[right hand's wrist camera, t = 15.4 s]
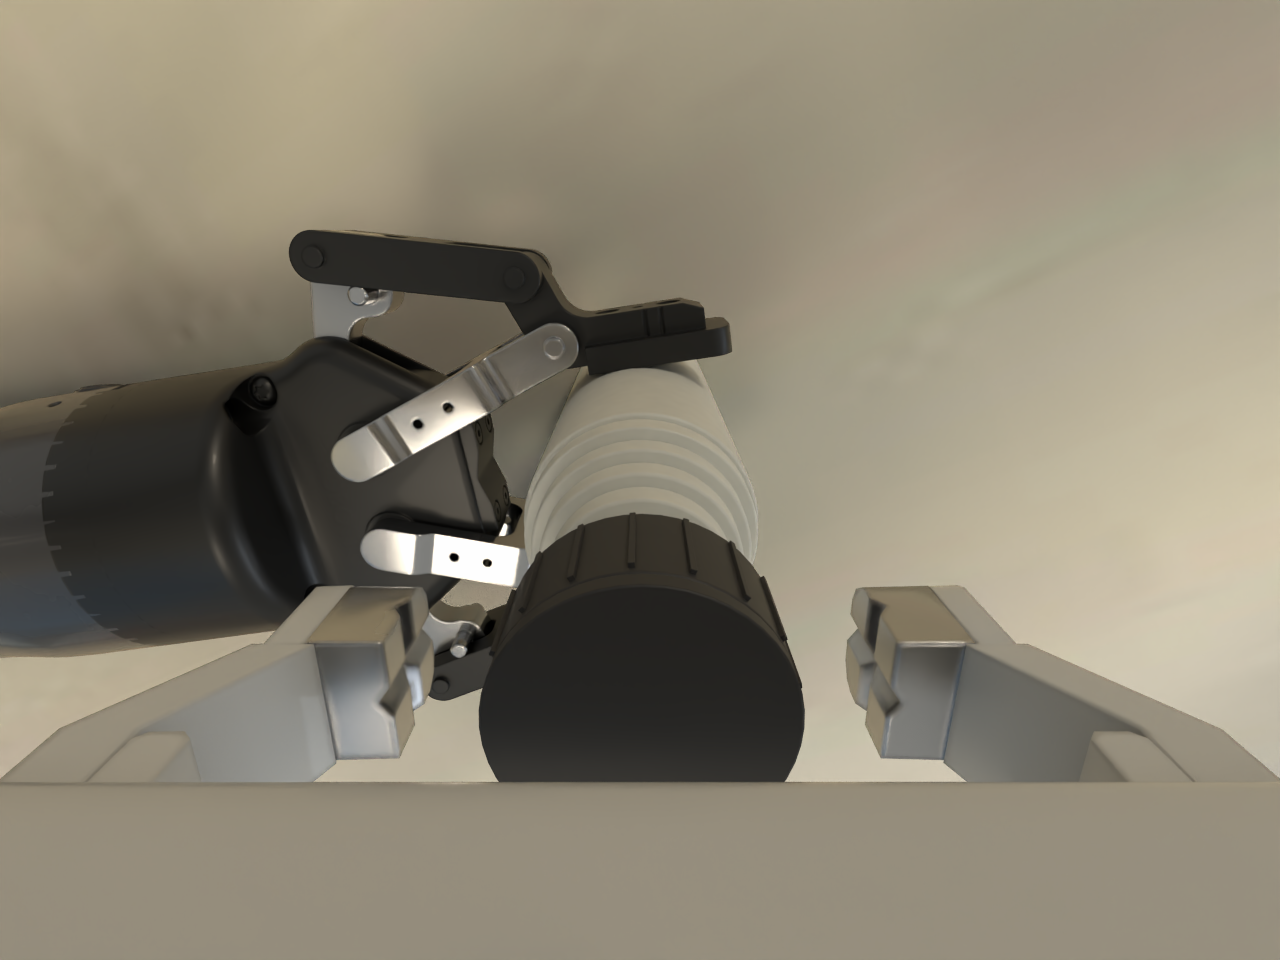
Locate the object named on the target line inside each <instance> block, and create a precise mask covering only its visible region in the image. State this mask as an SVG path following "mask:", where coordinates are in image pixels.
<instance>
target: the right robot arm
mask: <svg viewBox="0 0 1280 960" xmlns="http://www.w3.org/2000/svg"><path fill="white" fill-rule="evenodd" d="M428 616H429V608H428V601H427V595H426V593H425V591H424V590H423V588H422V587H379V586H353V585H345V586H321V587H316V588H315V589H314V590H313V591H312V592H311V593H310V594H309V595H308V596H307V597H306V599H305V600H304V601H303V602H302V603H301V604H300V605H299V606H298V607H297V608H296V609H295V610H294V612H293V613H292V614H291V615H290V616H289V617H288V618H287V619H286V620H285V621H284V622H283V623H282V625H281V626H280V627H279V628H278V629H277V630H276V631H275V632H274V633H273V634H272V635H271V636H270V638H269V639H268V640H267V641H266V642H265V643H264V644H251V645H249V646H247V647H244V648H242V649H240V650H237V651H235V652H233V653H231V654H228V655H226V656H224V657H221V658H219V659H217V660H215V661H212V662H210V663H208V664H206V665H203V666H201V667H199V668H196V669H194V670H192V671H190V672H187V673H185V674H183V675H180V676H178V677H176V678H174V679H171V680H169V681H167V682H164V683H162V684H160V685H158V686H155V687H153V688H151V689H149V690H146V691H144V692H142V693H139V694H137V695H135V696H133V697H130V698H128V699H126V700H123V701H121V702H119V703H117V704H114V705H112V706H110V707H107V708H105V709H103V710H101V711H98V712H96V713H94V714H91V715H89V716H87V717H85V718H82V719H80V720H78V721H76V722H73V723H71V724H69V725H66V726H64V727H62V728H60V729H58V730H57V731H56V732H55V733H54V734H52V735H51V736H50V737H49V738H48V739H47V740H45V741H44V742H43V743H42V744H41V745H39V746H38V747H37V748H36V749H35V750H34V751H32V752H31V753H30V754H29V755H28V756H27V757H25V758H24V759H23V760H22V761H21V762H20V763H18V764H17V765H16V766H15V767H14V768H12V769H11V770H10V771H9V772H8V773H7V774H5V775H4V776H3V777H2V778H1V779H0V960H1280V779H1279V778H1278V777H1277V776H1276V775H1275V774H1274V773H1272V772H1271V771H1270V770H1269V769H1268V768H1267V767H1265V766H1264V765H1263V764H1262V763H1261V762H1260V761H1258V760H1257V759H1256V758H1255V757H1254V756H1253V755H1251V754H1250V753H1249V752H1248V751H1247V750H1246V749H1244V748H1243V747H1242V746H1241V745H1240V744H1239V743H1237V742H1236V741H1235V740H1234V739H1233V738H1232V737H1230V736H1229V735H1228V734H1227V733H1226V732H1225V731H1223V730H1222V729H1220V728H1218V727H1215V726H1213V725H1211V724H1209V723H1206V722H1204V721H1202V720H1199V719H1197V718H1195V717H1193V716H1190V715H1188V714H1186V713H1183V712H1181V711H1179V710H1177V709H1174V708H1172V707H1170V706H1168V705H1165V704H1163V703H1161V702H1158V701H1156V700H1154V699H1152V698H1149V697H1147V696H1145V695H1143V694H1140V693H1138V692H1136V691H1133V690H1131V689H1129V688H1127V687H1124V686H1122V685H1120V684H1118V683H1115V682H1113V681H1111V680H1108V679H1106V678H1104V677H1102V676H1099V675H1097V674H1095V673H1093V672H1090V671H1088V670H1086V669H1083V668H1081V667H1079V666H1077V665H1074V664H1072V663H1070V662H1068V661H1065V660H1063V659H1061V658H1058V657H1056V656H1054V655H1052V654H1049V653H1047V652H1045V651H1043V650H1040V649H1038V648H1036V647H1033V646H1031V645H1029V644H1016V643H1015V642H1014V641H1013V640H1012V639H1011V638H1010V636H1009V635H1008V634H1007V633H1006V632H1005V631H1004V630H1003V629H1002V628H1001V627H1000V626H999V625H998V623H997V622H996V621H995V620H994V619H993V618H992V617H991V616H990V615H989V614H988V613H987V611H986V610H985V609H984V608H983V607H982V606H981V605H980V604H979V603H978V602H977V601H976V600H975V598H974V597H973V596H972V595H971V594H970V593H969V592H968V591H967V590H966V589H965V588H964V587H961V586H958V585H950V586H904V587H862V588H858V589H856V591H855V593H854V596H853V599H852V607H851V616H852V618H853V620H854V622H855V624H856V625H857V627H858V629H857V630H856V631H855V632H854V633H853V635H852V636H851V637H850V638H849V639H848V640H847V649H846V673H847V681H848V685H849V688H850V692H851V694H852V697H853V699H854V701H855V703H856V704H857V705H859V706H860V707H862V708H863V709H865V710H866V711H867V713H866V721H865V725H866V728H867V730H868V732H869V734H870V736H871V738H872V740H873V743H874V745H875V747H876V749H877V751H878V753H879V755H880V757H881V758H892V759H929V760H944V762H943V763H945V764H946V765H947V766H948V767H949V768H951V769H952V770H953V771H954V772H956V773H957V774H958V775H959V776H961V777H962V778H963V779H964V780H966V781H967V782H314V781H315V780H316V779H317V778H318V777H320V776H321V775H322V774H323V773H325V772H326V771H327V770H328V769H330V768H331V767H332V766H333V765H335V764H336V760H351V759H386V758H400V756H401V753H402V751H403V749H404V747H405V745H406V743H407V740H408V738H409V736H410V734H411V732H412V730H413V728H414V725H415V721H414V713H413V711H414V710H415V709H417V708H418V707H420V706H421V705H423V704H424V703H425V701H426V699H427V697H428V694H429V692H430V689H431V684H432V679H433V674H434V648H433V640H432V639H431V638H430V637H429V636H428V635H427V633H426V632H425V631H424V630H423V629H422V627H423V625H424V624H425V622H426V620H427V618H428Z"/></svg>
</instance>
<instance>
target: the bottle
mask: <svg viewBox="0 0 1280 960" xmlns="http://www.w3.org/2000/svg"><path fill="white" fill-rule="evenodd" d="M632 512H635V513H636V514H654V515H663V516H669V517H674V518H679V519H682V520H683V518H686V519H689V522H692V523H695V524H697V525H700V526H702V527H704V528H706V529H708V530H710V531H712V532H714V533H716V534H717V535H719V536H720V537H722V538H724V539H725V540H727V541H728V542H729V541H730V540H731V541H732V542H734V543H735V546H736V549H738V550H739V551H740V552H741V553H742V554H743V555H744V556H745V558H746V559H747V560H748V561H749V562H750V563H751V564H752V565H753V562H754V559H755V555H756V549H757V544H758V509H757V501H756V497H755V493H754V489H753V486H752V484H751V481H750V479H749V476H748V474H747V472H746V470H745V467H744V465H743V463H742V461H741V458H740V456H739V454H738V452H737V449H736V447H735V445H734V442H733V440H732V438H731V436H730V433H729V431H728V429H727V427H726V424H725V422H724V420H723V418H722V415H721V413H720V411H719V409H718V406H717V404H716V402H715V400H714V397H713V395H712V393H711V391H710V388H709V386H708V384H707V382H706V379H705V377H704V375H703V373H702V370H701V368H700V366H699V364H698V362H697V360H696V359H695V360H689V361H682V362H675V363H669V364H662V365H656V366H649V367H642V368H634V369H626V370H620V371H616V372H609V373H603V374H596V375H590V376H589V372H588V367H587V366H583V367H581V368H580V371H579V373H578V375H577V378H576V380H575V382H574V385H573V387H572V389H571V391H570V394H569V396H568V398H567V401H566V403H565V405H564V407H563V410H562V412H561V414H560V417H559V419H558V421H557V424H556V426H555V428H554V430H553V433H552V435H551V437H550V440H549V442H548V444H547V447H546V449H545V451H544V453H543V456H542V458H541V460H540V463H539V465H538V467H537V469H536V472H535V474H534V476H533V479H532V481H531V484H530V487H529V490H528V493H527V497H526V502H525V507H524V540H525V550H526V554H527V558H528V562H529V565H530V566H531V564H532V563H533V562H534V559H535V556H536V554H537V553H538V552H539V551H541V552H543V551H544V550H545V549H547V548H548V547H549V546H550V545H551V544H553V543H554V542H555V541H556V540H558V539H559V538H561V537H563V536H564V535H566V534H567V533H569V532H571V531H573V530H575V529H577V527H578V525H581V524H584V525H586V524H588V523H591V522H594V521H598V520H601V519H604V518H609V517H614V516H620V515H629V513H632Z"/></svg>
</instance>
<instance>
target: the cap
mask: <svg viewBox="0 0 1280 960" xmlns="http://www.w3.org/2000/svg"><path fill="white" fill-rule="evenodd" d="M786 640H788V639H787V636H786V633H785V631H784V628H783V625H782V622H781V620H780V617H779V614H778V611H777V609H776V606H775V603H774V600H773V598H772V595H771V592H770V589H769V587H768V584H767V581H766V579H765V577H764V576H762V577H760V576H759V575H758V573H757V572H756V570H755V569H754V567H753V566H752V564H751V563H750V562H749V561H748V560H747V559H746V558H745V556H744V555H743V554H742V553H741V552H740V551H739V550H738V549H736V546H735V543H734V542H732V541H731V540H730V541H729V542H728V541H727V540H725V539H724V538H722V537H720V536H719V535H717V534H716V533H714V532H712V531H710V530H708V529H706V528H704V527H702V526H700V525H697V524H695V523H692V522H689V519H686V518H683V520H682V519H679V518H674V517H669V516H663V515H654V514H636V513H635V512H632V513H629V515H620V516H614V517H609V518H604V519H601V520H598V521H594V522H591V523H588V524H586V525H584V524H581V525H578V527H577V529H575V530H573V531H571V532H569V533H567V534H566V535H564V536H563V537H561V538H559V539H558V540H556V541H555V542H554V543H553V544H551V545H550V546H549V547H548V548H547V549H545V550H544V551H543V552H541V551H539V552H538V553H537V554H536V556H535V559H534V562H533V563H532V564H531V566H530V567H529V569H528V570H527V571H526V573H525V574H524V576H523V577H522V580H521V582H520V584H519V586H518V588H517V590H516V591H515V590H512V591H511V593H510V596H509V599H508V602H507V605H506V607H505V610H504V613H503V616H502V619H501V621H500V624H499V627H498V630H497V633H496V635H495V638H494V641H493V644H492V646H491V649H490V652H489V656H492V657H493V659H492V662H491V664H490V667H489V670H488V673H487V676H486V679H485V682H484V686H483V689H482V692H481V698H480V705H479V730H480V735H481V741H482V746H483V749H484V752H485V755H486V757H487V760H488V763H489V765H490V767H491V769H492V771H493V773H494V775H495V776H496V778H497V780H498V781H499V782H785V780H786V779H787V777H788V775H789V773H790V771H791V770H792V768H793V766H794V764H795V761H796V759H797V756H798V753H799V750H800V747H801V743H802V738H803V732H804V719H805V709H804V702H803V695H802V690H801V688H802V682H801V680H800V677H799V674H798V671H797V669H796V666H795V663H794V660H793V657H792V655H791V652H790V649H789V646H788V643H787V641H786Z"/></svg>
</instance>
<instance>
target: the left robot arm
mask: <svg viewBox="0 0 1280 960" xmlns="http://www.w3.org/2000/svg"><path fill="white" fill-rule="evenodd" d="M289 258H290V261H291V264H292V266H293V268H294V269H295V271H296V272H297V273H298V274H299V275H300V276H301V277H302V278H304V279H305V280H307V281H310V286H311V302H312V318H313V334H314V338H313V339H311V340H309V341H307V342H305V343H303V344H302V345H301V346H299V347H298V348H297V349H296V350H295V351H294V352H293V353H292V354H291V355H290V356H288V357H287V358H285V359H283V360H279V361H274V362H267V363H261V364H255V365H248V366H242V367H235V368H229V369H222V370H216V371H209V372H203V373H197V374H190V375H184V376H177V377H171V378H164V379H158V380H151V381H145V382H139V383H132V384H126V385H121V384H104V385H93V386H87V387H82V388H80V389H79V390H76V391H74V393H68V394H62V395H56V396H50V397H44V398H38V399H33V400H28V401H23V402H19V403H16V404H12V405H8V406H5V407H2V408H0V658H5V657H73V656H84V655H94V654H103V653H110V652H118V651H125V650H133V649H140V648H148V647H155V646H163V645H171V644H178V643H185V642H193V641H200V640H208V639H215V638H223V637H230V636H238V635H245V634H253V633H260V632H267V631H275V630H277V629H278V628H279V627H280V626H281V625H282V623H283V622H284V621H285V620H286V619H287V618H288V617H289V616H290V615H291V614H292V613H293V612H294V610H295V609H296V608H297V607H298V606H299V605H300V604H301V603H302V602H303V601H304V600H305V599H306V597H307V596H308V595H309V594H310V593H311V592H312V591H313V590H314V589H315V588H316V587H321V586H345V585H353V586H379V587H422V588H423V590H424V591H425V593H426V595H427V601H428V608H429V616H428V618H427V620H426V622H425V624H424V625H423V627H422V629H423V630H424V631H425V632H426V633H427V635H428V636H429V637H430V638H431V639H432V640H433V648H434V674H433V679H432V684H431V689H430V692H429V694H428V696H430V697H431V698H434V699H436V700H441V701H446V700H451V699H454V698H456V697H459V696H462V695H464V694H467V693H470V692H473V691H475V690H478V689H481V688H483V686H484V682H485V679H486V676H487V673H488V670H489V667H490V664H491V662H492V659H493V657H492V656H489V652H490V649H491V646H492V644H493V641H494V638H495V635H496V633H497V630H498V627H499V624H500V621H501V619H502V616H503V613H504V610H505V607H506V605H507V604H505V605H502V606H500V607H497V608H494V609H492V610H489V611H487V612H486V611H485V610H484V608H483V606H482V605H480V604H478V603H474V604H472V605H465V606H461V607H454V606H450V605H447V604H445V603H444V602H442V601H441V600H440V599H441V598H442V597H443V596H444V595H445V594H446V593H447V592H448V591H450V590H451V589H452V588H453V587H454V586H455V585H456V584H457V583H458V582H459V581H460V580H461V579H467V580H473V581H479V582H485V583H491V584H497V585H503V586H509V587H516V588H518V586H519V584H520V582H521V580H522V577H523V576H524V574H525V573H526V571H527V570H528V569H529V567H530V565H529V562H528V558H527V554H526V550H525V540H524V507H525V502H526V499H522V498H517V497H511V496H509V492H508V488H507V484H506V480H505V478H504V476H503V474H502V472H501V470H500V468H499V467H498V465H497V463H496V461H495V459H494V457H493V440H494V428H493V424H492V419H491V415H490V413H491V412H492V411H494V410H496V409H497V408H499V407H500V406H502V405H503V404H505V403H506V402H507V401H509V400H510V399H512V398H514V397H515V396H517V395H519V394H521V393H523V392H525V391H527V390H528V389H530V388H532V387H534V386H536V385H538V384H539V383H541V382H543V381H545V380H547V379H549V378H551V377H552V376H554V375H556V374H558V373H560V372H562V371H564V370H565V369H570V368H577V367H583V366H587V367H588V372H589V376H590V375H596V374H603V373H609V372H616V371H620V370H626V369H634V368H642V367H649V366H656V365H662V364H669V363H675V362H682V361H689V360H695V359H702V358H708V357H715V356H720V355H725V354H728V353H730V352H732V345H731V335H730V326H729V323H728V322H727V321H726V320H725V319H724V318H722V317H714V318H705V314H704V307H703V306H702V305H701V304H700V303H699V302H696V301H692V300H688V299H683V298H674V299H668V300H662V301H655V302H649V303H644V304H636V305H630V306H623V307H617V308H611V309H604V310H598V311H584V310H581V309H578V308H576V307H575V306H573V305H572V304H571V303H570V302H569V301H568V300H567V299H566V298H565V296H564V294H563V293H562V291H561V289H560V287H559V286H558V284H557V282H556V280H555V278H554V277H553V275H552V269H551V265H550V263H549V261H548V259H547V258H546V257H545V256H544V255H543V254H542V253H540V252H539V251H536V250H533V249H525V248H515V247H506V246H496V245H487V244H477V243H468V242H459V241H449V240H440V239H430V238H421V237H411V236H402V235H393V234H383V233H374V232H364V231H355V230H306V231H303V232H300V233H299V234H297V235H296V236H295V237H294V238H293V240H292V241H291V244H290V247H289ZM404 292H408V293H418V294H427V295H437V296H447V297H456V298H466V299H476V300H485V301H495V302H505V304H506V305H507V307H508V309H509V311H510V312H511V314H512V316H513V317H514V319H515V321H516V322H517V324H518V326H519V327H520V329H521V331H522V333H520V334H518V335H516V336H515V337H513V338H511V339H509V340H507V341H506V342H504V343H502V344H499V345H497V346H495V347H494V348H492V349H490V350H488V351H486V352H484V353H483V354H481V355H479V356H477V357H476V358H474V359H472V360H470V361H468V362H467V363H465V364H463V365H461V366H459V367H458V368H456V369H454V370H452V371H450V372H449V373H447V374H445V375H444V374H442V373H440V372H438V371H436V370H434V369H431V368H429V367H427V366H425V365H423V364H421V363H419V362H417V361H415V360H413V359H411V358H409V357H407V356H405V355H403V354H401V353H399V352H397V351H395V350H393V349H390V348H388V347H386V346H384V345H382V344H380V343H378V342H376V341H374V340H372V339H370V338H368V337H366V336H364V335H362V331H363V327H364V324H365V323H366V321H367V320H368V319H369V318H370V317H378V316H381V315H384V314H387V313H390V312H393V311H395V310H396V309H397V308H398V307H399V306H400V305H401V304H402V301H403V298H404Z"/></svg>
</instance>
